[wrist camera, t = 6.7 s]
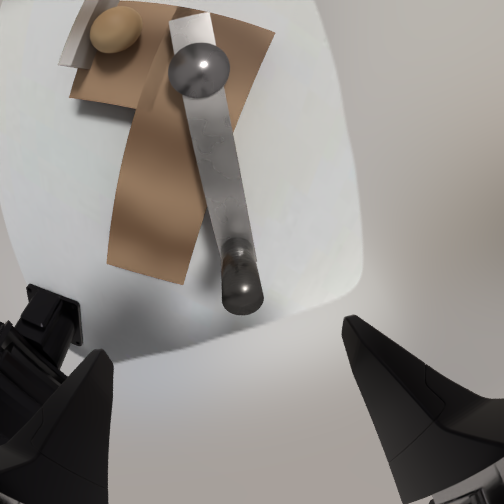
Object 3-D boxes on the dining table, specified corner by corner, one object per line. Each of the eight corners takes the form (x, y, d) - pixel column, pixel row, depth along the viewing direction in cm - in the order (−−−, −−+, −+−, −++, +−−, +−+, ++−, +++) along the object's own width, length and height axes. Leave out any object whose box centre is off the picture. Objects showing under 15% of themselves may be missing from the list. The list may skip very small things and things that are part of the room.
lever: (262, 250, 19) (278, 308, 14) (215, 260, 19) (215, 320, 14) (218, 16, 11) (218, -27, 6) (163, 29, 11) (135, -7, 6)
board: (185, 270, 21) (178, 312, 17) (63, 234, 18) (33, 267, 14) (269, 40, 13) (286, 17, 9) (116, 8, 11) (87, -15, 6)
